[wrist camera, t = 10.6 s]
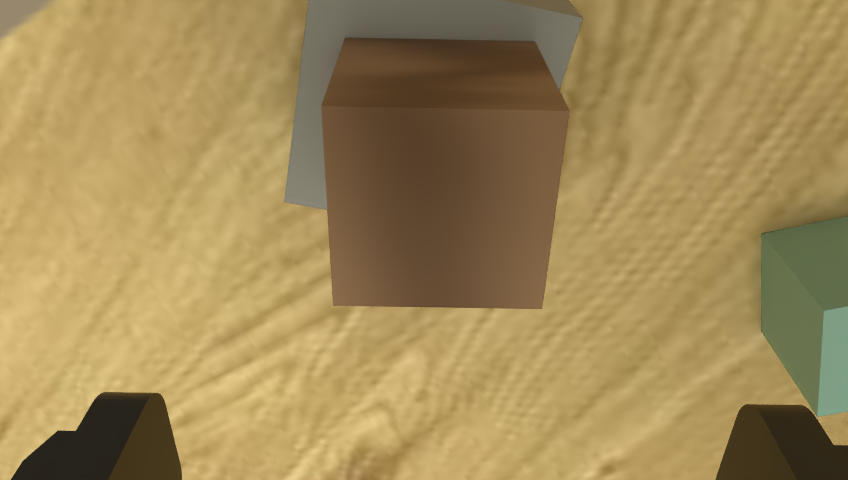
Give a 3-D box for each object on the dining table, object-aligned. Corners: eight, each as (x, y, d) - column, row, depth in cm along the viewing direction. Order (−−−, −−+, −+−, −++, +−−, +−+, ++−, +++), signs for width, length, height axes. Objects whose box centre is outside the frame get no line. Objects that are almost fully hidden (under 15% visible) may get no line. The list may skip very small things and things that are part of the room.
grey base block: (551, -22, 22) (582, 18, 18) (495, 172, 26) (509, 242, 21) (335, -71, 21) (313, -42, 17) (307, 136, 25) (284, 201, 21)
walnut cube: (535, 41, 18) (569, 111, 14) (517, 207, 21) (542, 308, 17) (345, 37, 18) (320, 106, 14) (351, 204, 21) (333, 305, 17)
